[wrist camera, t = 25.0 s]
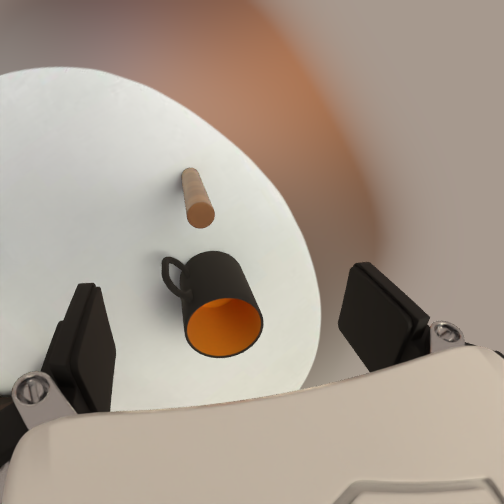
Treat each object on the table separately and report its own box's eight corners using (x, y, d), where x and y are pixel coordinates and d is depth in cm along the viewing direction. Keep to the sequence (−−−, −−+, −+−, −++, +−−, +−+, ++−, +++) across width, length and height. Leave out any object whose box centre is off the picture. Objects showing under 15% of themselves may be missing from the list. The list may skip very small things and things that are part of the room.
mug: (184, 220, 36) (189, 259, 27) (255, 273, 42) (279, 320, 33) (143, 270, 38) (137, 320, 29) (215, 315, 43) (228, 368, 34)
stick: (182, 167, 34) (188, 201, 21) (199, 168, 34) (216, 202, 22) (180, 184, 35) (185, 228, 22) (198, 185, 35) (213, 229, 23)
